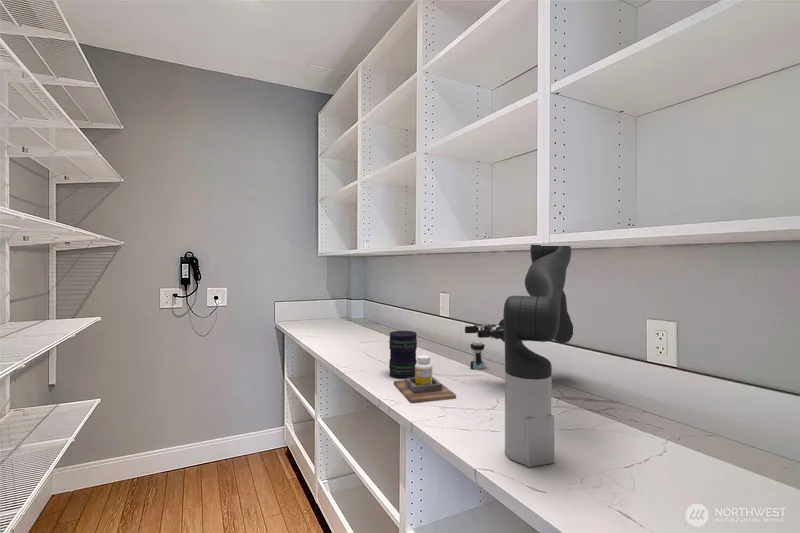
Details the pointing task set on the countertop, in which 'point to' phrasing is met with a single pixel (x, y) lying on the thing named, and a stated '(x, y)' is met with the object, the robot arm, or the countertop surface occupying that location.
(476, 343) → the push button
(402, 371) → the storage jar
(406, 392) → the dock board
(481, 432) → the countertop surface
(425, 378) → the supplement bottle
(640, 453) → the countertop surface
